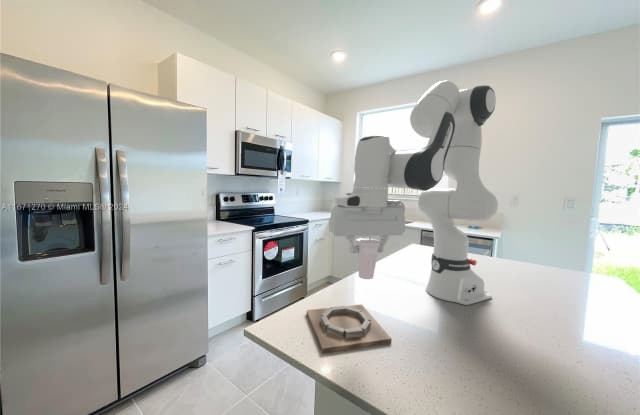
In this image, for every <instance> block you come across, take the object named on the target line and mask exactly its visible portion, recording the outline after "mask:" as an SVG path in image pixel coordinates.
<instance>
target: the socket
mask: <svg viewBox="0 0 640 415" xmlns="http://www.w3.org/2000/svg"><path fill="white" fill-rule="evenodd" d="M371 314H372V313H370V312H369V311H368V310H367V309H366V308H365V306H364V305H363V304H355V305H354V304H352V305H339V306H330V307H326V308H325V307H324V308H316V309H315V308H313V309H307V310H306V316H307V318H308V321H309V323H310V325H311V329H312V331H313V334H314V336H315V338H316V340H317V343H318V345H319V348H320V350H321V353H322V354H327V353H333V352H334V353H335V352H340V351H347V350H353V349H361V348H368V347H374V346H380V345H381V346H382V345H388V344H392V339H393V338H392V337H391V336H390V335H389V334H388V333H387V331H386V330H385V329H384V328H383V327H382V326H381V325H380V323H379V322H378V321H377V320H376V319H375V317H373V315H371Z"/></svg>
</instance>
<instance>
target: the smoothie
mask: <svg viewBox="0 0 640 415" xmlns="http://www.w3.org/2000/svg"><path fill="white" fill-rule="evenodd" d="M354 245H356V246H358V249H357V251H358V252H357V253H356V256H357V270H358V278H360V279H363V280H373V279H374V274H375V269H376V265H377V264H376V263H377V258H378V253H379V252H378V248H379V246H380V240H378V239H375V238H372V236H368V237H367V238H363V237H362V238H361V237H360V238H356V239H355V243H354Z"/></svg>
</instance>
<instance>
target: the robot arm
mask: <svg viewBox="0 0 640 415" xmlns="http://www.w3.org/2000/svg"><path fill="white" fill-rule="evenodd" d="M496 100H497V99H496V93H495V91H494V89H493V88H492V86H490V85H476V86H474V87H469V88H463V89H459V87H458V86H457V85H456V83H454V82H452V81H450V80H442V81H439V82H437V83H434V85H432V86H431V87H430V88H429V89H427V91H425V93H424V94H423V95H422V96H421V97H420V98H419V100H418V101H417V102H416V104H415V105H414V107H413V108H412V110H411V113H410V116H409V121H410V126H411V127H412V130H413V131H414V132H415V133H416V134H417V135H419V136H420V137H422V138H426V139H429V140H428V142H427V143H426V145H425V146H424V147H422V148H419V149H415V150H403V151H398V150H396V149H395V148H394V147H393V146H392V145H391V143H390V137H389V135H385V134H376V135H368V136H364V137H362V138H360V139H359V140H358V142H357V146H356V150H355V155H354V164H353V165H354V169H353V171H354V175H355V176H354V177H355V178H354V182H353V185H352V191H350V192H347V193H343V194H340V195H336V196H335V197H334V201H333V202H334V204H335V206H333V208H332V210H331V212H330V217H329V225H328V227H329V228H328V229H329V232H330V233H331V235H332V236H334V237H346V238H345V239H346V241H347V242H348V245H349V252H350V254H357V252H358V251H357V249H358V246H357V244H355V243H354V240H355V238H356V237H360V236H361V237H366V236H368V237H369V236H371V237H372V236H373V237H374V236H379V238H380V240H379V241H380V246H379V248H378V253H383V252H384V246H385V245H386V244H387V242H388V240H389V236H403V235H404V233H405V231H406V220H405V219H406V218H405V212H406V211H405V210H406V208H405V204H404V203H403V202H402V201H401V200H399V199H396V200H394V199H393V200H392V199H388V198H389V188H395V189H412V190H417V191H422V192H421V193H420V194H419V196H418V199H417V205H418V209H419V210H420V212H421V213H422V214H423V215H424V216H425V217H426V218H427V219H428V221H429V223H430V225H431V227H432V231H433V253H432V254H431V270H430V274H429V278H428V281H427V284H426V287H425V292H426V293H427V294H429V295H431V296H433V297H434V298H437V299H440V300H442V301H443V300H444V301H447V302H452V303H457V304H461V305H465V306H469V305H472V304H476V303H479V302H484V301H486V300H490V299H492V294H491V293H490V292H488V291H487V290H485V281H484V279H483V278H482V277H481V276H480V275H479V274H478V273H476V272H475V271H474V270H473V269H472V268H471V266H476V265H477V264H478V260H476V259H473V258H468V252H469V245H470V244H469V243H470V240H469V237H468V235H467V234H466V232H464V231H463V230H461V229H460V228H458V227H457V226H456V225H455V222H454V220H459V221H460V220H461V221H467V222H484V221H489V220H491V219H492V218H494V216H495V215H496V213H497V211H498V209H499V208H498V204H499V203H498V200H497V198H496V196H495V195H494V193H493V192H491V190H489V189H488V188H487V187H486V186H485V185H484V183H483V181H482V180H481V177H480V172H479V168H480V156H481V150H482V142H483V140H482V139H483V135H482V134H483V132H482V126H483V125H485V123H486V121H487V120H488V119H489V118H490V117H491V116H492V114H493V113H494V111H495V108H496V102H497V101H496ZM443 174H445V175H446V176H447V177H449V178H450V179H452V180H454V181H456V187H454V188H453V187H452V188H451V187H450V188H448V187H436V186H437V185H438V184H439V183H440V182H441V180H442V178H443Z"/></svg>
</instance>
